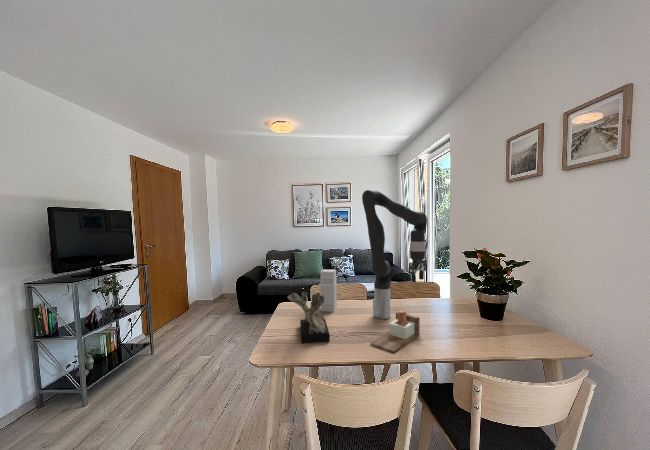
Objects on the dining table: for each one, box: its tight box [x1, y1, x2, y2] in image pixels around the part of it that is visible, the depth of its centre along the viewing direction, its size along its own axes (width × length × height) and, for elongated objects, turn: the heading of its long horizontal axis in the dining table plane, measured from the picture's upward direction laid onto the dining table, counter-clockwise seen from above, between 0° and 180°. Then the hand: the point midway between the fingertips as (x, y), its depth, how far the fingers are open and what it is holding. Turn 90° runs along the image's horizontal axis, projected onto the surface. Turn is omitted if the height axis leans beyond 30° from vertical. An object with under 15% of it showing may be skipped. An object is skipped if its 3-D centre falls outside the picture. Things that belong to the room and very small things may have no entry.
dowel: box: [397, 310, 407, 326], centre depth 139 cm, size 4×4×10 cm
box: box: [319, 268, 338, 313], centre depth 182 cm, size 8×8×25 cm
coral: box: [287, 291, 331, 344], centre depth 143 cm, size 25×20×21 cm
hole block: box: [388, 318, 415, 339], centre depth 140 cm, size 9×9×6 cm
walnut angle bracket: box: [370, 311, 421, 354], centre depth 136 cm, size 12×25×9 cm, turn 136°
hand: (417, 280), depth 148 cm, fingers open, 8 cm apart
